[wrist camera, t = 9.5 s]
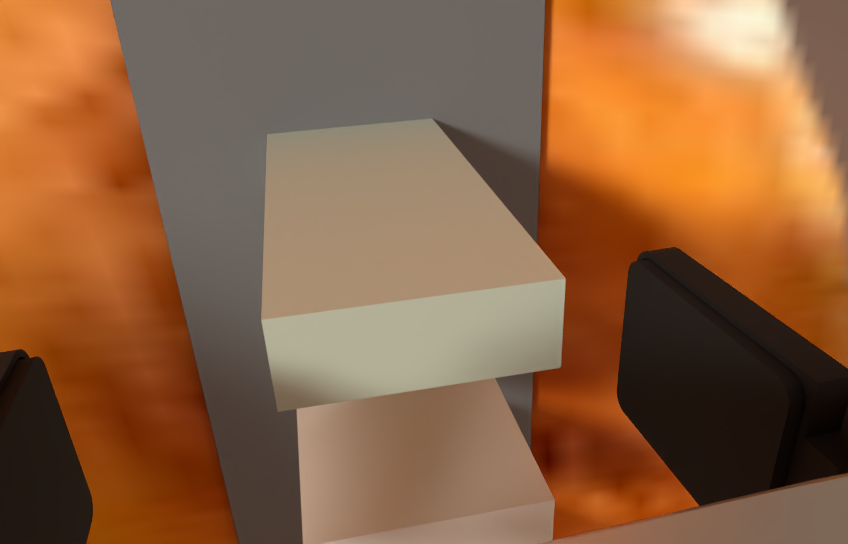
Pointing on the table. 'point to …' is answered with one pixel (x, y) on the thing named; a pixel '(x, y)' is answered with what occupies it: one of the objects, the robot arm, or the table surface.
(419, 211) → the domino
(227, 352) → the mat
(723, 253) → the table surface
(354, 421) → the domino
